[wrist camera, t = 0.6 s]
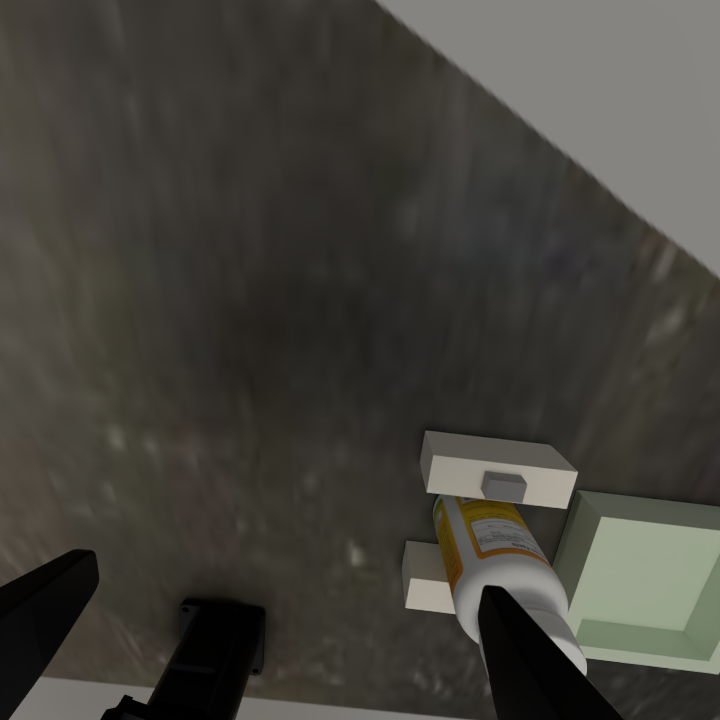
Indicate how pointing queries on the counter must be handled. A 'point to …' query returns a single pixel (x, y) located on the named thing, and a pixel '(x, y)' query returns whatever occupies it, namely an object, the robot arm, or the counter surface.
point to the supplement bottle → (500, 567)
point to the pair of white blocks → (478, 496)
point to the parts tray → (643, 580)
